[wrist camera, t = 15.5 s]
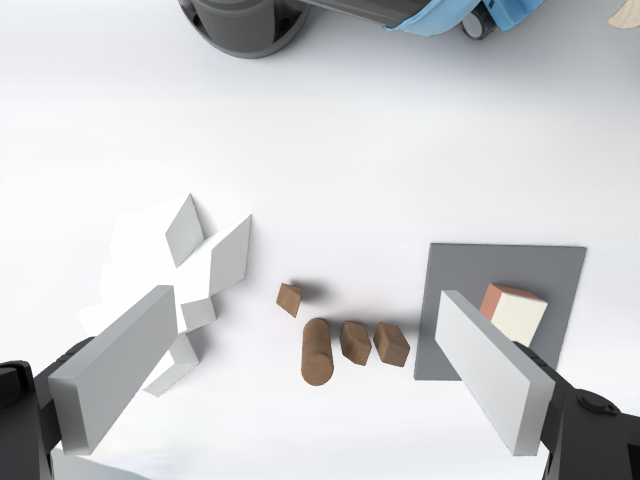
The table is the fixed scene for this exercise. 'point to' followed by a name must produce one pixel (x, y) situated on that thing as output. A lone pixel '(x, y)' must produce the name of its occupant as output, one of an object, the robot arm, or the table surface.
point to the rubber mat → (502, 269)
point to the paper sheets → (169, 275)
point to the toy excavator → (517, 3)
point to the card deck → (513, 312)
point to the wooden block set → (341, 341)
